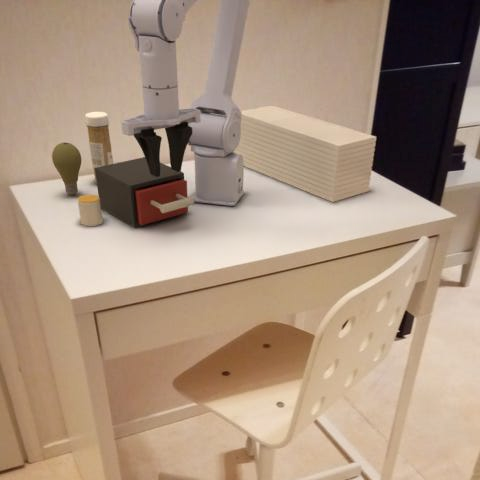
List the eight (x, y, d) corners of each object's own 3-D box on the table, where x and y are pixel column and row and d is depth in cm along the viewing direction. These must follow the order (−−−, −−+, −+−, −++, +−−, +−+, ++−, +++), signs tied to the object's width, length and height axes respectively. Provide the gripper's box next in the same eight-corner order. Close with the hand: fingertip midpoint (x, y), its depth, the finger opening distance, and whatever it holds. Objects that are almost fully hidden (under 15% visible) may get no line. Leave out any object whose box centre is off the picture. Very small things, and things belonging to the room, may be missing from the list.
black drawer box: (185, 213, 117) (184, 172, 112) (134, 228, 111) (130, 185, 106) (150, 195, 124) (146, 156, 120) (100, 208, 119) (94, 167, 114)
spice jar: (120, 182, 130) (112, 113, 122) (102, 187, 128) (93, 117, 119) (107, 177, 133) (99, 109, 124) (90, 182, 130) (80, 113, 122)
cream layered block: (235, 162, 142) (235, 111, 135) (269, 154, 147) (272, 105, 140) (332, 202, 122) (338, 145, 116) (368, 191, 128) (376, 136, 121)
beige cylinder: (106, 219, 114) (103, 195, 112) (97, 227, 111) (93, 203, 109) (87, 217, 115) (83, 193, 112) (77, 224, 112) (73, 200, 109)
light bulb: (92, 192, 125) (84, 141, 119) (75, 201, 121) (67, 148, 115) (70, 188, 127) (61, 137, 121) (53, 197, 123) (43, 144, 117)
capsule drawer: (203, 219, 112) (202, 187, 109) (156, 233, 107) (153, 200, 104) (154, 195, 122) (152, 165, 118) (109, 207, 117) (105, 176, 113)
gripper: (134, 96, 92) (143, 187, 101) (210, 84, 99) (212, 170, 108) (111, 87, 96) (120, 176, 105) (185, 77, 103) (189, 160, 112)
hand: (165, 172), depth 107 cm, fingers open, 4 cm apart
